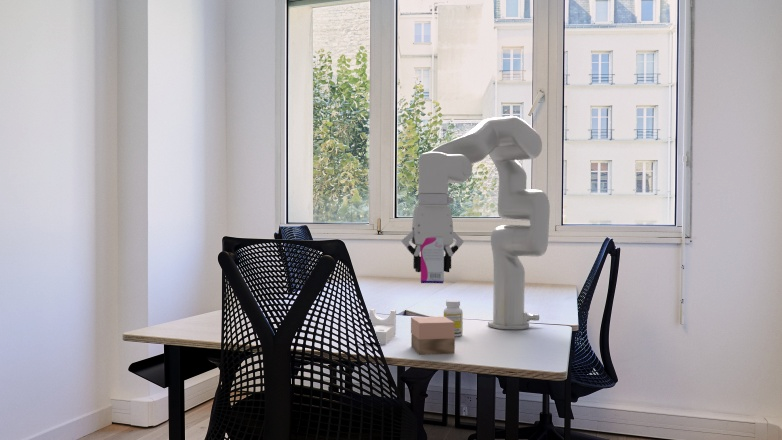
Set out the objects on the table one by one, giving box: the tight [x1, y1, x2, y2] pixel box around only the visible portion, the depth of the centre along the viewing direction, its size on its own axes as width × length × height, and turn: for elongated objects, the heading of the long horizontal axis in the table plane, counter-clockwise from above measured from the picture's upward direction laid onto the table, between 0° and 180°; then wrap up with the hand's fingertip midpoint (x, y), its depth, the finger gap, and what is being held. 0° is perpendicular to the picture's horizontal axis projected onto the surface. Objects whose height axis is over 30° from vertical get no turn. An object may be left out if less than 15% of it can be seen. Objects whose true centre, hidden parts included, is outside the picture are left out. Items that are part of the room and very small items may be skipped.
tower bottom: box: [410, 332, 456, 356], centre depth 154 cm, size 9×9×4 cm
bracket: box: [369, 308, 397, 345], centre depth 167 cm, size 13×7×8 cm, turn 168°
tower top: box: [410, 316, 456, 339], centre depth 154 cm, size 9×9×4 cm
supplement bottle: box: [443, 299, 464, 337], centre depth 174 cm, size 5×5×10 cm
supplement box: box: [420, 237, 445, 284], centre depth 154 cm, size 6×6×12 cm
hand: (432, 271), depth 154 cm, fingers closed on supplement box, 6 cm apart
